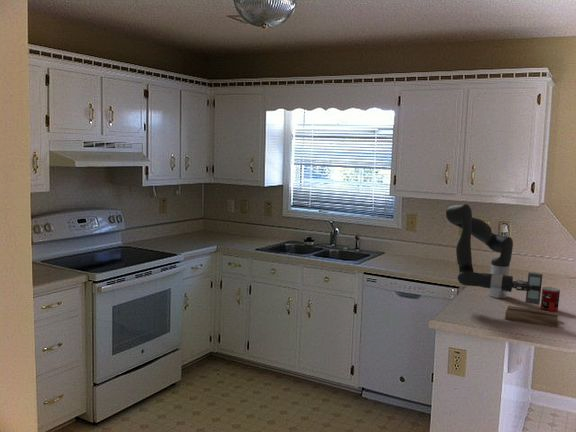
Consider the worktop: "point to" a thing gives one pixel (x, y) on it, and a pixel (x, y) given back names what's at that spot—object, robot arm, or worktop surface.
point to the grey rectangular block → (533, 295)
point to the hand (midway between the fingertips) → (540, 288)
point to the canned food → (550, 299)
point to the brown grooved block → (531, 316)
